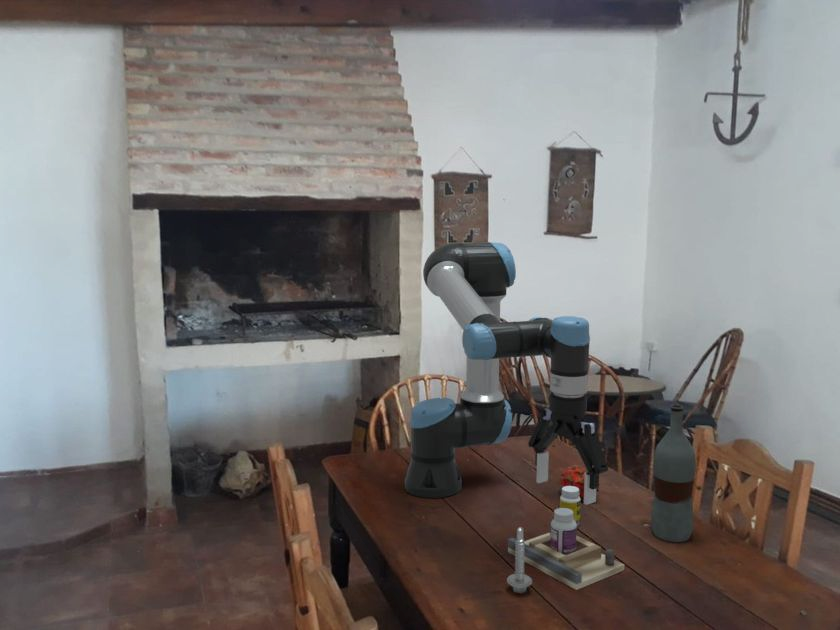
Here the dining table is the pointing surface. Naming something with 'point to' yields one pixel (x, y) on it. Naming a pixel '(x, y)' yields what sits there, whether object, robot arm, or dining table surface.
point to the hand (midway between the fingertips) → (565, 491)
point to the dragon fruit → (574, 479)
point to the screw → (519, 566)
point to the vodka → (673, 483)
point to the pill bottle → (563, 531)
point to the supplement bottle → (571, 501)
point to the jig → (569, 561)
